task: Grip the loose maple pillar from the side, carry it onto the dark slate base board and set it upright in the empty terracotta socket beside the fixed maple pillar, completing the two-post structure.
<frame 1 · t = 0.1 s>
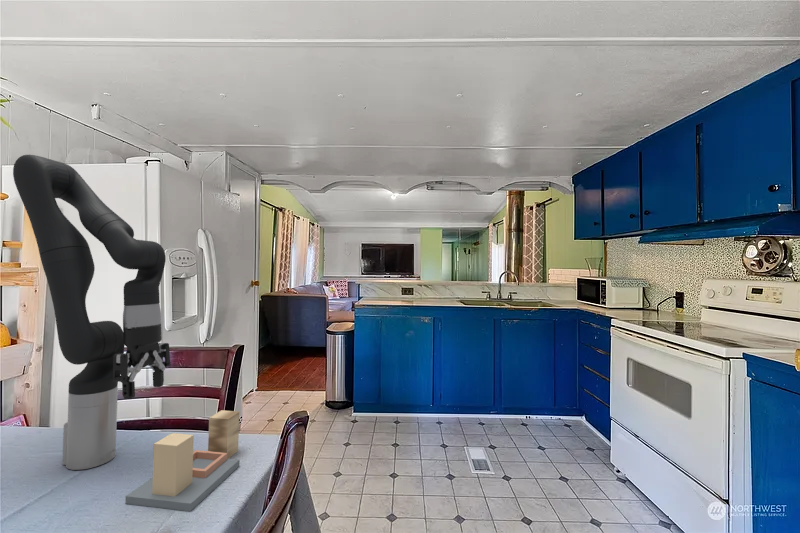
hand: (144, 392, 89), 17 cm above the table, fingers open, 8 cm apart
maple pillar: (223, 454, 94), on the table
base board: (187, 483, 81), on the table
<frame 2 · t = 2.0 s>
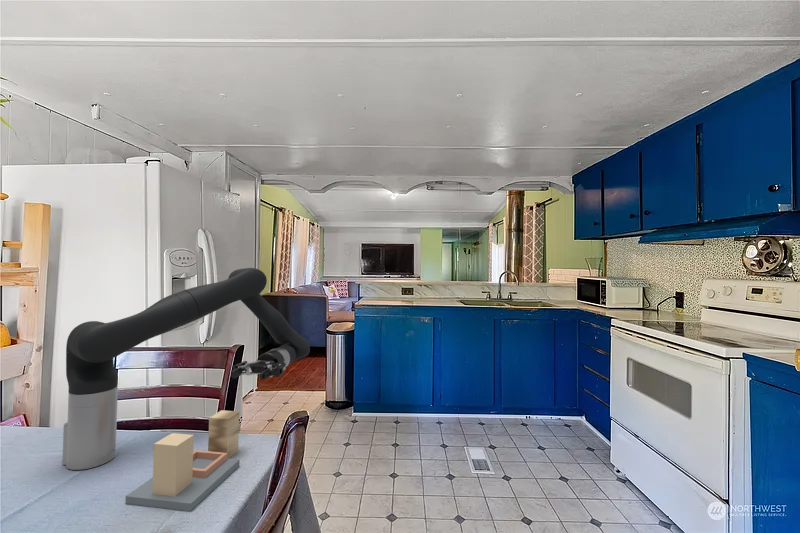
hand: (247, 375, 105), 17 cm above the table, fingers open, 8 cm apart
nothing on the table moved.
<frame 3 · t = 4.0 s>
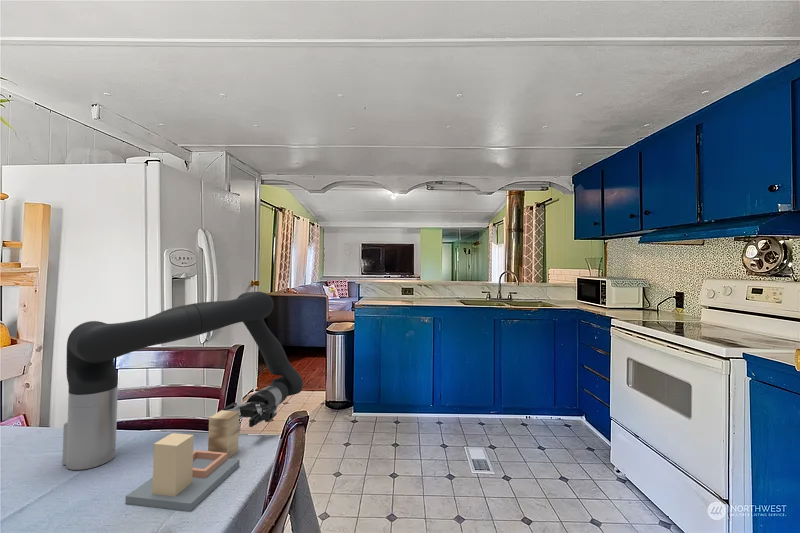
hand: (235, 422, 100), 6 cm above the table, fingers open, 8 cm apart
nothing on the table moved.
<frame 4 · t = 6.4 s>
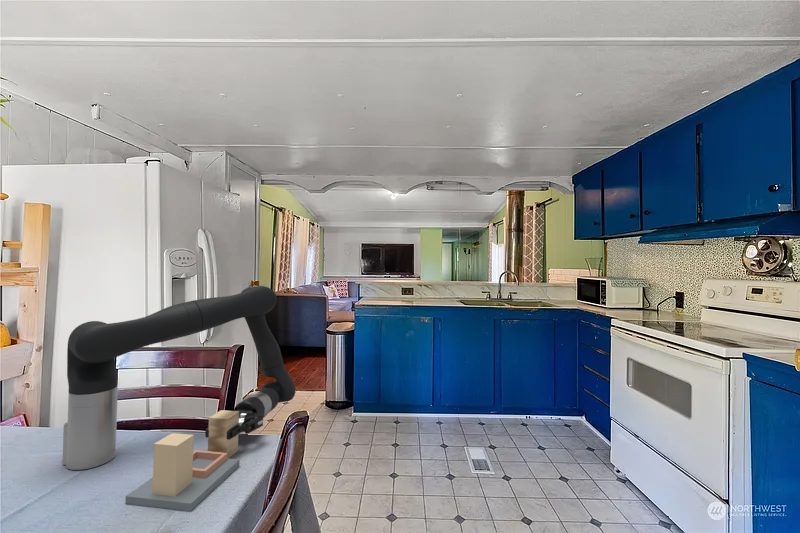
hand: (217, 434, 92), 6 cm above the table, fingers closed on maple pillar, 5 cm apart
maple pillar: (223, 454, 94), on the table, touching gripper
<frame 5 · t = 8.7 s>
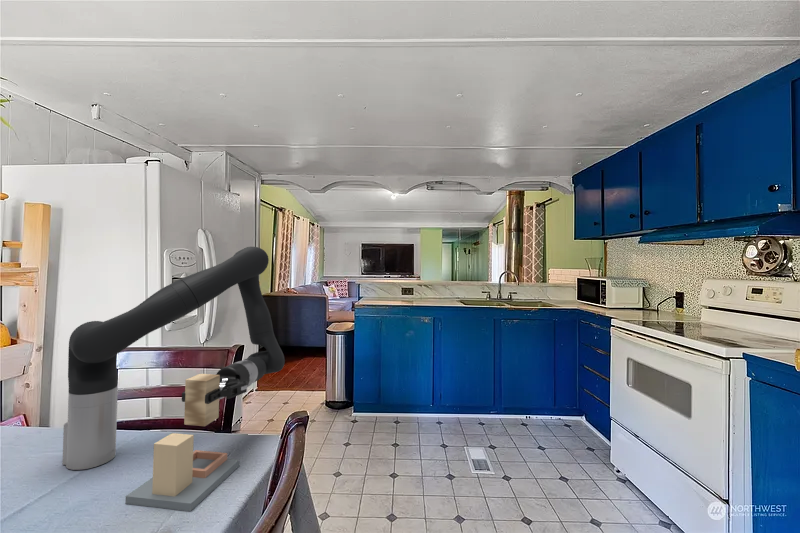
hand: (195, 398, 83), 18 cm above the table, fingers closed on maple pillar, 5 cm apart
maple pillar: (201, 420, 86), point 12 cm above the table, touching gripper
when the fingers open (10 cm above the table, at t = 11.1 s): maple pillar drops 2 cm, resting on base board.
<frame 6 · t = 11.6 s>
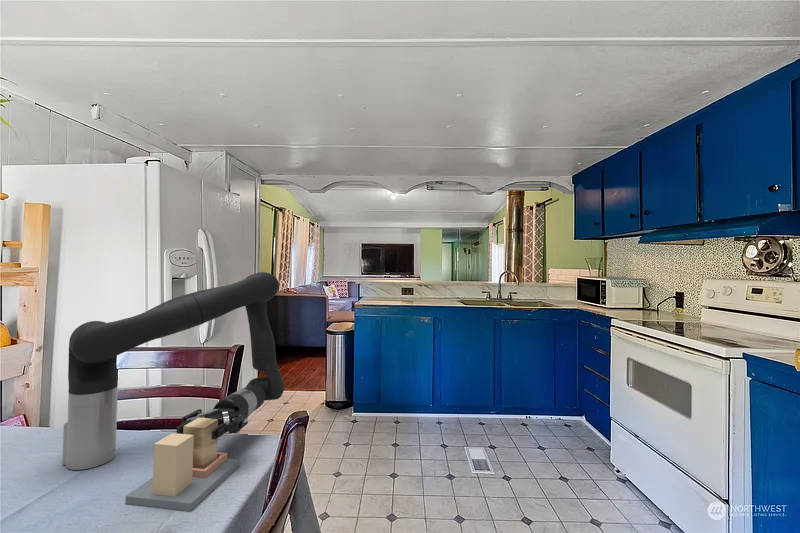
hand: (195, 433, 84), 10 cm above the table, fingers open, 8 cm apart
maple pillar: (199, 466, 85), point 1 cm above the table, touching base board
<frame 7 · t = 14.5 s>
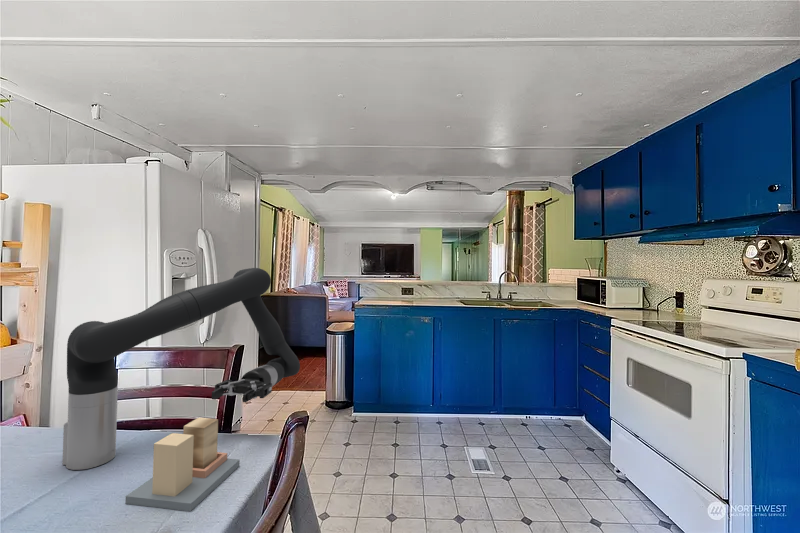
hand: (228, 397, 96), 14 cm above the table, fingers open, 8 cm apart
nothing on the table moved.
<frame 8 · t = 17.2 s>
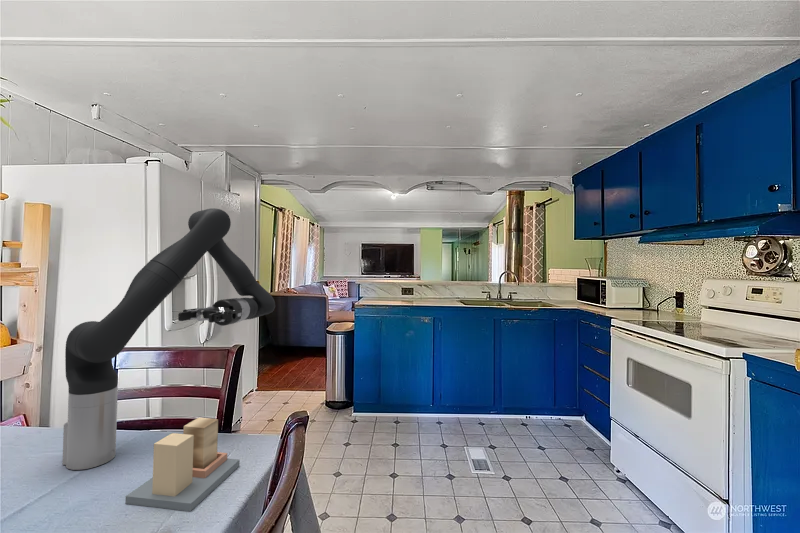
hand: (194, 317, 96), 34 cm above the table, fingers open, 8 cm apart
nothing on the table moved.
at the end: maple pillar 0.1 cm from the target spot on the base board, point 1.5 cm above the base board's base; maple pillar tilted 0°; the gripper is holding nothing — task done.
